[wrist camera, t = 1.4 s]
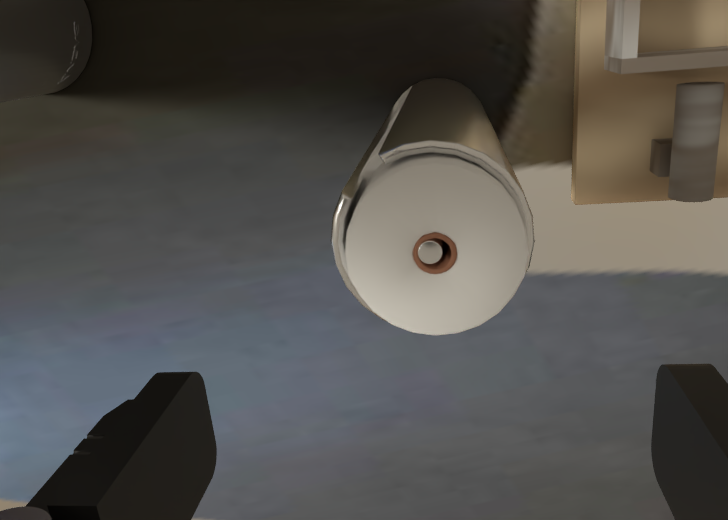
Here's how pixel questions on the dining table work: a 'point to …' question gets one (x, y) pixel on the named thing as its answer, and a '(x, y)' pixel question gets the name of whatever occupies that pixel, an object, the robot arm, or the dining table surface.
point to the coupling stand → (650, 101)
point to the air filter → (433, 216)
